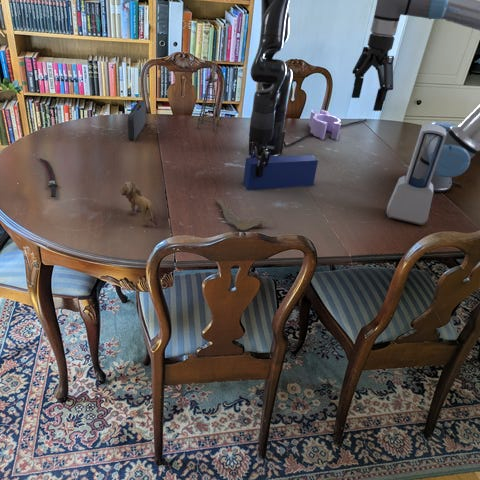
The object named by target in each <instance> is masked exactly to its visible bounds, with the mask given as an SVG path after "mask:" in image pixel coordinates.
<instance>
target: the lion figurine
mask: <svg viewBox="0 0 480 480" xmlns="http://www.w3.org/2000/svg"><path fill="white" fill-rule="evenodd" d="M119 193H120V194H121V196H122V197H124V196H125V198H126V199H127V200H128V202H129V203H130V207H131V211H130V212H129V213H130V215H135V214H136V211H137V212H141V214H142V216H143V218H144V219H145V223H144V225H145V227H149V226H150V221H152V223H153V225H155V226H159V222H156V221H155V219H154V217H153V216H154V215H153V204H152V202H151V200H150V199H148V198H146V197H145V196H144V195H143V194H142V192H141V190H140V187H138V185H136V184H135V183H133V182H132V181H125V182H124V186H122V188H121V189H119ZM136 207H137V208H136ZM148 214H149V216H148Z"/></svg>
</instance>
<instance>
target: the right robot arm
mask: <svg viewBox="0 0 480 480" xmlns="http://www.w3.org/2000/svg"><path fill="white" fill-rule="evenodd" d="M374 9H375V10H374V15H373V18H372V22H371V26H370V32H371V33H370V34H369V36H368V41H367V46H363V48H362V51H361V54H360V56H359V58H358V60H357V62H356V64H355V65H354V67H353V69H352V72H351V73H352V74H353V75H354V82H353V88H352V93H351V99H360V97H361V93H362V89H363V85H364V84H363V83H364V78H365V75H366V73H367V72H368V71H369V70H370V68H371V67H373V68H375V70H376V72H377V78H378V84H379V88H377V93H376V96H375V101H374V105H373V109H372V111H373V112H382V110H383V107H384V104H385V101H386V98H387V94H388V91H393V90H394V61H395V56H394V55H389V51H391V50H392V49H393V47H394V43H395V39H396V38H395V37H394V36H396V33H397V30H398V26H399V22H400V18H401V16H408V17H409V16H410V17H415V18H421V19H427V20H442V21H445V22H448V23H451V24H454V25H455V24H456V25H458V26H462V27H466V28H468V29H469V28H470V29H473V30H476V31H480V0H376V5H375V8H374ZM431 124H436V125H439V126H442V127H443V128H445V129H446V139H445V142H444V144H443V147H442V150H441V153H440V156H439V159H438V162H437V165H436V168H435V170H434V173H433V176H432V179H431V183H432V184H433V193H436V194H437V193H438V194H439V193H441V194H442V193H443V194H444V193H447V192H449V191H450V190H451V188H452V185H455V186H458V187H461V186H462V183H460V182H456V181H454V180H453V179H452V178H457V177H459V176H461V175H462V174H464V173H465V172H466V171H467V170H468V168H469V166H470V164H471V159H472V158H474V156H476V155H477V153H479V152H480V104H478V106H477V107H476V108H475V109H474V110H473V111H472V112H471V113H470V114H469V115H468V116H467V117H466V118H465V119H464V120H463V121H462V123H460V124H459V125H458V124H455V123H452V122H451V123H450V122H446V121H434V122H432V123H431ZM438 137H439V136H437V135H434V134H426V138H425V142H424V145H423V149H422V150H421V153H420V157H419V160H418V161H417V163H416V166H415V169H414V172H413V175H412V177H415V178H418V179H425V176H426V173H427V170H428V167H429V164H430V161H431V158H432V155H433V152H434V149H435V146H436V143H437V140H438Z"/></svg>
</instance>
